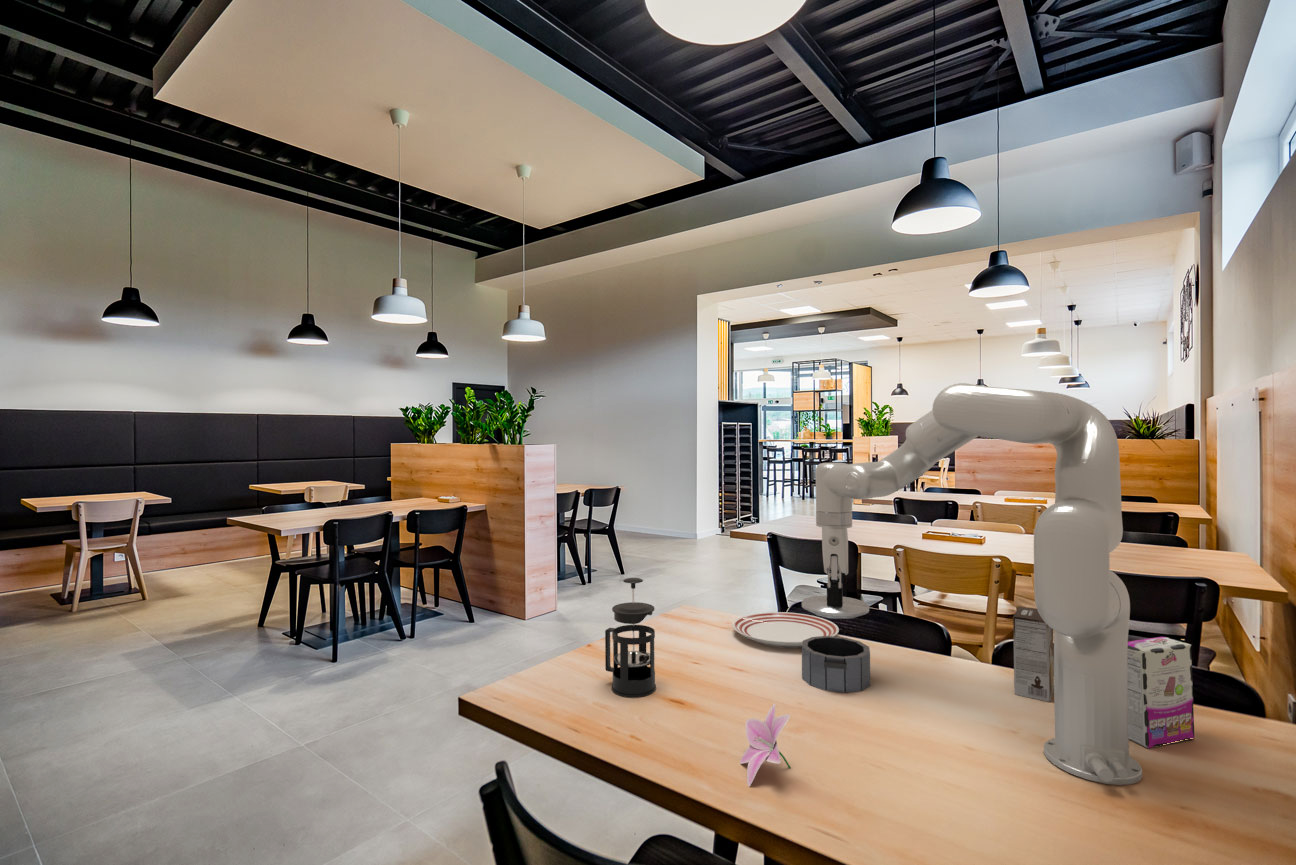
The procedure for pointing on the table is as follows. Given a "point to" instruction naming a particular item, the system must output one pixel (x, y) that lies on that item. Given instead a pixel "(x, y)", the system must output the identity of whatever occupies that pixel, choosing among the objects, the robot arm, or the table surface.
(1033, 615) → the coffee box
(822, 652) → the pot
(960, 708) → the table surface
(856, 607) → the lid
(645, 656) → the french press
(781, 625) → the dinner plate
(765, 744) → the lily
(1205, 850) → the table surface
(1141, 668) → the candy bar box
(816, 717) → the table surface
